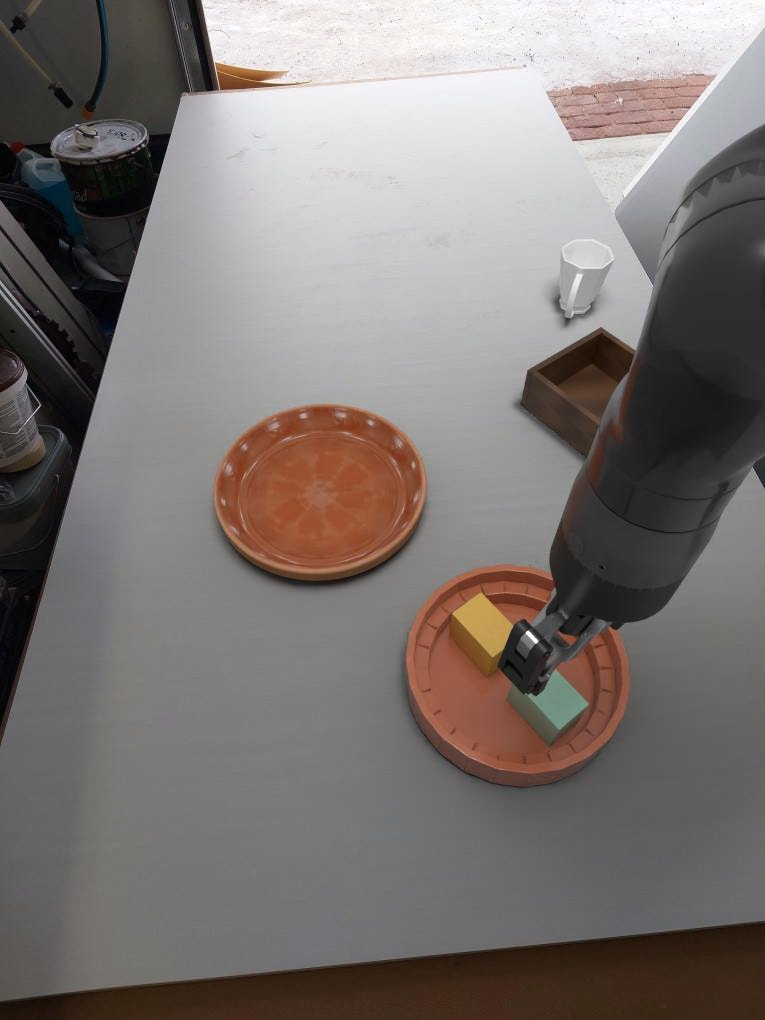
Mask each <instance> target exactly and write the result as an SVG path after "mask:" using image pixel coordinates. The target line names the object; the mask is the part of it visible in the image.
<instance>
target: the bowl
mask: <svg viewBox="0 0 765 1020" xmlns="http://www.w3.org/2000/svg"><path fill="white" fill-rule="evenodd" d="M554 588H555V585H554V581H553V578H552V575H551V572H548V571H546V570H542V569H540V568H536V567H532V566H524V565H515V564H508V563H507V564H506V563H504V564H495V565H488V566H486V565H485V566H480V567H476V568H474V569H472V570H469V571H466V572H464V573H463V572H462V573H460V574H458V575H455V576H454V577H452V578H451V579H449V580H448V581H447V582H445V583H444V584H442V585H441V586H439V587H438V588H436V589H435V590H434V591H433V592H432V593H431V595H430V596H429V597H428V598H427V599H426V601H425V602H424V603H423V604H422V605H421V607H420V608H419V610H418V612H417V613H416V616H415V617H414V620H413V623H412V625H411V627H410V630H409V632H408V637H407V646H406V653H405V664H404V665H405V667H404V668H405V671H404V672H405V673H404V678H405V685H406V691H407V698H408V703H409V706H410V709H411V711H412V714H413V715H414V717H415V720H416V723H417V725H418V727H419V729H420V730H421V732H422V733H423V734H424V735H425V737H426V738H427V739H428V740H429V742H430V743H431V744H432V745H433V746H434V748H435V749H436V750H437V752H439V754H440V755H442V756H443V757H444V758H446V759H447V760H449V761H450V762H451V763H453V764H454V765H455V766H457V767H458V768H459V769H461V771H464V772H465V773H468V774H470V775H473V776H474V777H475V776H476V777H477V778H480V779H482V780H485V781H488V782H489V783H493V784H497V785H498V784H499V785H506V786H513V787H519V788H521V787H522V788H525V787H532V786H539V785H548V784H552V783H556V782H558V781H560V780H562V779H565V778H566V777H569V776H571V775H573V774H575V773H577V772H578V773H579V771H581V769H583V768H584V767H585V766H586V765H587V764H588V763H590V762H591V761H592V760H593V759H594V758H595V757H596V756H597V755H598V754H599V753H601V751H602V750H603V748H604V747H605V746H606V745H607V743H608V742H609V741H610V739H611V738H612V737H613V735H614V733H615V732H616V730H617V728H618V727H619V724H620V723H621V721H622V720H623V718H624V716H625V714H626V711H627V705H628V701H629V697H630V691H631V674H630V660H629V657H628V654H627V651H626V648H625V645H624V643H623V640H622V638H621V634H620V632H619V630H614V629H612V628H611V627H610V626H609V627H608V628H607V629H606V631H604V632H603V633H600V634H598V635H596V636H595V637H594V638H593V639H592V640H591V641H590V643H589V644H588V645H587V646H586V647H585V648H584V649H583V650H582V652H581V653H580V654H579V655H578V656H577V657H576V658H575V659H573V660H571V661H569V662H566V663H562V662H561V664H560V665H559V666H558V667H557V668H556V670H557V671H558V672H559V673H560V674H561V675H562V676H563V677H564V678H565V679H566V680H567V682H568V683H569V684H570V685H571V686H572V687H573V688H574V689H575V690H576V691H577V692H578V693H579V694H580V695H581V696H582V697H583V698H584V699H585V700H586V701H587V702H588V703H589V705H588V707H587V709H586V710H585V712H584V713H583V715H582V717H581V718H580V720H579V721H578V723H577V724H576V725H574V726H573V727H572V728H571V729H570V730H569V731H567V732H566V733H565V734H564V735H563V736H562V737H561V738H559V739H558V740H557V741H556V742H555V743H554V744H552V745H551V746H550V747H549V746H548V745H547V744H546V742H545V741H544V740H543V739H542V738H541V737H540V736H539V735H538V734H537V732H536V731H535V730H534V729H533V728H532V727H531V726H530V725H529V724H528V722H527V721H526V720H525V719H524V718H523V717H522V716H521V715H520V714H519V712H518V711H517V710H516V709H515V708H514V707H513V706H512V705H511V704H510V702H509V701H508V700H507V699H506V698H507V695H508V692H509V689H510V686H511V684H512V682H511V681H510V680H509V679H508V678H507V677H506V676H505V675H504V674H503V672H502V671H501V670H500V669H498V670H496V671H495V672H494V673H493V674H491V675H490V676H489V677H486V676H485V675H484V674H483V672H482V671H481V670H480V669H479V668H478V667H477V666H476V665H475V664H474V662H473V661H472V660H471V659H470V658H469V657H468V656H467V655H466V654H465V652H464V651H463V650H462V649H461V648H460V647H459V646H458V645H457V643H456V642H455V641H454V640H453V639H452V638H451V637H450V636H449V630H450V623H451V616H452V613H453V612H454V611H456V610H457V609H458V608H460V607H461V606H463V605H464V604H465V603H467V602H468V601H469V600H471V599H472V598H474V597H475V596H476V595H478V594H479V593H482V594H483V595H484V596H485V597H486V598H487V599H488V600H489V601H490V602H491V603H492V604H493V605H494V606H495V607H496V608H497V609H498V610H499V611H500V612H501V613H502V614H503V615H504V616H505V618H506V619H507V620H508V621H509V622H510V623H511V624H512V625H513V626H514V624H515V623H516V622H518V621H520V620H522V619H526V621H527V622H528V623H529V624H531V622H532V621H533V620H534V619H535V617H536V616H537V615H538V614H539V612H540V611H541V610H542V609H543V608H544V606H545V605H546V604H547V603H548V601H549V600H550V599H551V592H552V590H553V589H554ZM558 633H559V634H560V635H561V636H562V637H563V638H564V639H565V640H566V641H567V642H568V643H569V644H570V645H572V644H573V643H574V642H575V641H576V640H577V638H578V637H579V636H570V635H564V634H562V633H561V632H560V631H559V632H558ZM551 657H552V656H551ZM551 657H549V659H548V661H549V660H550V659H551Z"/></svg>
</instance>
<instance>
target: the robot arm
mask: <svg viewBox="0 0 765 1020" xmlns="http://www.w3.org/2000/svg"><path fill="white" fill-rule="evenodd" d="M661 241H662V242H661V247H660V252H659V257H658V261H657V265H656V266H657V267H656V270H655V277H654V280H653V286H652V289H651V295H650V299H649V302H648V307H647V311H646V314H645V318H644V320H643V324H642V327H641V331H640V335H639V337H638V338H639V339H638V342H637V345H636V349H635V350H636V352H635V355H634V358H633V361H632V364H631V367H630V370H629V373H627V374H626V375H625V376H624V377H623V379H622V380H621V381H620V383H619V384H618V386H617V387H616V389H615V390H614V392H613V394H612V396H611V398H610V400H609V402H608V404H607V406H606V408H605V411H604V413H603V416H602V419H601V422H600V424H599V427H598V430H597V433H596V436H595V438H594V441H593V444H592V447H591V449H590V452H589V455H588V457H586V459H585V461H584V462H583V464H582V465H581V468H580V469H579V470H578V472H577V474H576V476H575V478H574V480H573V483H572V486H571V489H570V492H569V493H568V498H567V500H566V502H565V506H564V509H563V512H562V514H561V517H560V520H559V523H558V526H557V529H556V531H555V534H554V537H553V539H552V540H553V541H552V542H551V545H550V550H549V556H548V560H549V561H548V562H549V564H548V565H549V570H550V573H551V575H552V578H553V581H554V585H555V588H554V589H553V590H552V592H551V599H550V600H549V601H548V603H547V604H546V605H545V606H544V608H543V609H542V610H541V611H540V612H539V614H538V615H537V616H536V617H535V619H534V620H533V621H532V622H531V624H529V623H528V622H527V621H526V619H522V620H520V621H518V622H516V623H515V624H514V626H513V628H512V630H511V632H510V634H509V637H508V639H507V642H506V644H505V647H504V650H503V652H502V655H501V657H500V660H499V662H498V665H497V667H498V668H499V669H500V670H501V671H502V672H503V674H504V675H505V676H506V677H507V678H508V679H509V680H510V681H511V682H512V683H513V684H514V686H515V687H516V688H517V689H518V690H519V691H520V692H521V693H522V694H525V693H527V694H528V695H529V694H530V693H531V694H532V695H534V696H538V695H539V694H540V693H541V692H543V691H544V689H545V687H546V685H547V683H548V681H549V679H550V677H551V676H552V675H551V674H552V673H553V672H554V670H555V669H556V668H557V667H558V666H559V665H560V664H561V662H562V663H566V662H569V661H571V660H573V659H575V658H576V657H577V656H578V655H579V654H580V653H581V652H582V650H583V649H584V648H585V647H586V646H587V645H588V644H589V643H590V641H591V640H592V639H593V638H594V637H595V636H596V635H598V634H600V633H603V632H604V631H606V629H607V628H608V627H609V626H610V627H611V628H612V629H614V630H617V631H619V629H620V628H622V627H623V626H624V625H625V624H630V623H637V622H641V621H644V620H647V619H649V618H651V617H653V616H655V615H656V614H658V613H659V612H661V611H662V610H663V609H664V608H665V607H666V606H667V605H668V604H669V602H670V601H671V599H672V598H673V596H674V595H675V594H676V592H677V591H678V589H679V587H680V586H681V584H682V583H683V582H684V580H685V578H686V577H687V575H688V574H689V573H690V571H691V570H692V568H693V567H694V565H696V562H697V561H698V559H699V558H700V557H701V555H702V554H703V552H704V551H705V549H706V548H707V546H708V545H709V543H710V542H711V540H712V538H713V536H714V534H715V532H716V530H717V527H718V526H719V525H718V524H719V522H720V520H721V517H722V515H723V513H724V511H725V509H726V508H727V506H728V505H729V504H730V502H731V500H732V499H733V497H734V496H735V494H736V493H737V492H738V490H739V488H740V487H741V486H742V484H743V482H744V481H745V479H746V478H747V477H748V475H749V473H750V472H751V470H752V468H753V467H754V465H755V463H757V461H759V460H760V459H762V458H763V457H765V123H763V124H760V125H759V126H757V127H756V128H754V129H752V130H751V131H749V132H747V133H746V134H744V135H742V136H741V137H739V138H737V139H736V140H735V141H733V142H732V143H730V144H729V145H728V146H726V147H725V148H723V149H722V150H721V151H719V152H717V154H715V155H714V156H713V157H712V158H710V159H709V160H708V161H706V162H705V163H704V165H702V166H701V167H700V168H699V169H698V170H697V171H696V172H695V173H694V174H693V175H692V176H691V178H689V180H688V181H687V182H686V183H685V185H684V186H683V187H682V189H680V191H679V193H678V195H677V196H676V199H675V201H673V204H672V206H671V208H670V211H669V214H668V216H667V220H666V223H665V227H664V232H663V237H662V240H661ZM559 631H560V632H561V633H562V634H564V635H570V636H579V637H578V638H577V640H576V641H575V642H574V643H573V644H572V645H570V644H569V643H568V642H567V641H566V640H565V639H564V638H563V637H562V636H561V635H560V634H559V633H558V632H559ZM551 656H552V657H551ZM549 657H551V659H550V660H549V661H548V659H549ZM547 661H548V662H547Z"/></svg>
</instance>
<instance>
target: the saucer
mask: <svg viewBox="0 0 765 1020" xmlns="http://www.w3.org/2000/svg"><path fill="white" fill-rule="evenodd" d="M213 481H214V482H213V493H212V495H213V505H214V511H215V514H216V517H217V520H218V522H219V524H220V527H221V528H222V531H223V533H224V535H225V537H226V538H227V540H228V541H229V543H230V544H231V546H233V548H234V549H235V550H236V551H237V552H238V553H239V554H241V555H242V556H243V557H244V558H245V559H247V561H249V562H251V563H252V564H254V565H255V566H257V567H259V568H260V569H263V570H265V571H267V572H269V573H272V574H275V575H278V576H280V577H284V578H287V579H288V578H289V579H293V580H300V581H314V582H315V581H318V582H320V581H331V580H332V581H333V580H338V579H339V580H340V579H344V578H348V577H352V576H355V575H358V574H361V573H363V572H366V571H368V570H371V569H372V568H375V567H376V566H378V565H380V564H381V563H383V562H385V561H386V560H388V559H389V558H390V557H392V556H393V555H394V554H396V553H397V552H398V551H399V550H400V549H401V548H402V547H404V545H405V544H406V542H408V540H409V539H410V537H411V536H412V535H413V533H414V532H415V530H416V529H417V527H418V525H419V522H420V521H421V518H422V517H423V512H424V509H425V503H426V499H427V498H426V497H427V487H428V484H427V483H428V482H427V471H426V467H425V464H424V461H423V458H422V456H421V454H420V452H419V449H418V448H417V447H416V445H415V444H414V442H413V441H412V440H411V438H409V436H408V435H407V434H406V433H405V432H404V431H403V430H402V429H400V428H399V427H398V426H396V425H395V424H394V423H392V422H391V421H389V420H388V419H386V418H384V417H382V416H381V415H378V414H376V413H374V412H371V411H368V410H366V409H363V408H359V407H355V406H351V405H346V404H345V405H344V404H337V403H316V404H307V405H301V406H296V407H292V408H287V409H284V410H282V411H279V412H276V413H274V414H271V415H269V416H267V417H265V418H264V419H261V420H259V422H256V423H255V424H254V425H252V426H251V427H250V428H248V429H247V430H245V431H243V433H242V434H241V435H239V437H237V439H236V440H235V441H234V442H233V443H232V444H231V446H230V447H229V448H228V450H227V451H226V452H225V454H224V455H223V457H222V459H221V460H220V463H219V465H218V468H217V471H216V474H215V477H214V480H213Z"/></svg>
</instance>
